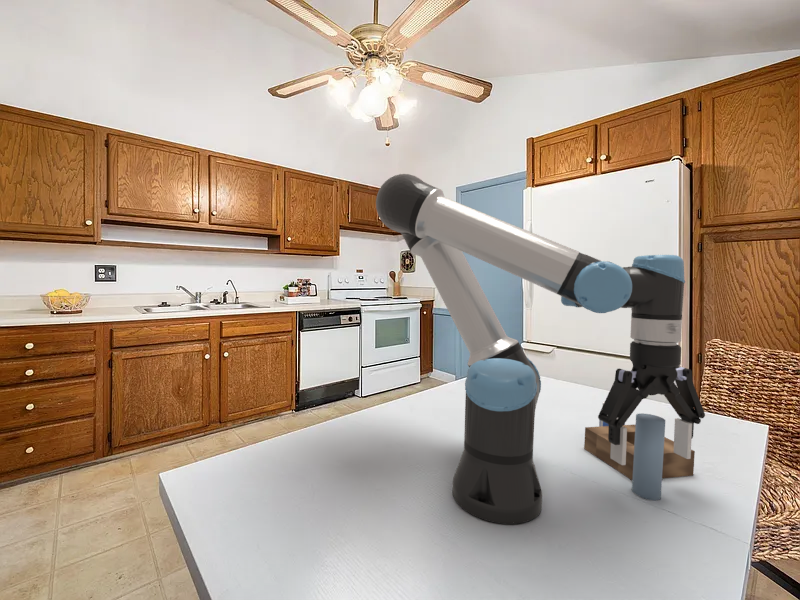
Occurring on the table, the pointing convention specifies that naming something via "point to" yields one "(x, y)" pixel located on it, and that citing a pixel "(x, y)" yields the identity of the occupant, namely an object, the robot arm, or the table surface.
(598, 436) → the socket block
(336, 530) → the table surface
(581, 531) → the table surface
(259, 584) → the table surface
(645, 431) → the peg
